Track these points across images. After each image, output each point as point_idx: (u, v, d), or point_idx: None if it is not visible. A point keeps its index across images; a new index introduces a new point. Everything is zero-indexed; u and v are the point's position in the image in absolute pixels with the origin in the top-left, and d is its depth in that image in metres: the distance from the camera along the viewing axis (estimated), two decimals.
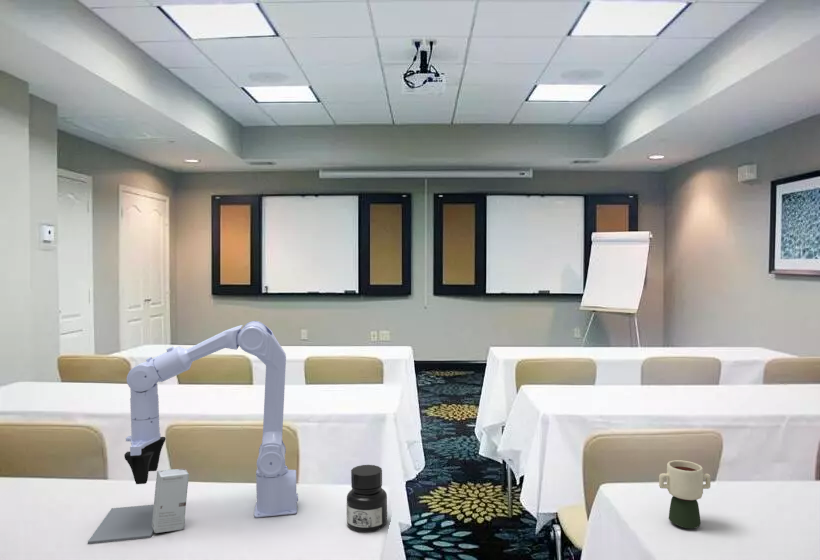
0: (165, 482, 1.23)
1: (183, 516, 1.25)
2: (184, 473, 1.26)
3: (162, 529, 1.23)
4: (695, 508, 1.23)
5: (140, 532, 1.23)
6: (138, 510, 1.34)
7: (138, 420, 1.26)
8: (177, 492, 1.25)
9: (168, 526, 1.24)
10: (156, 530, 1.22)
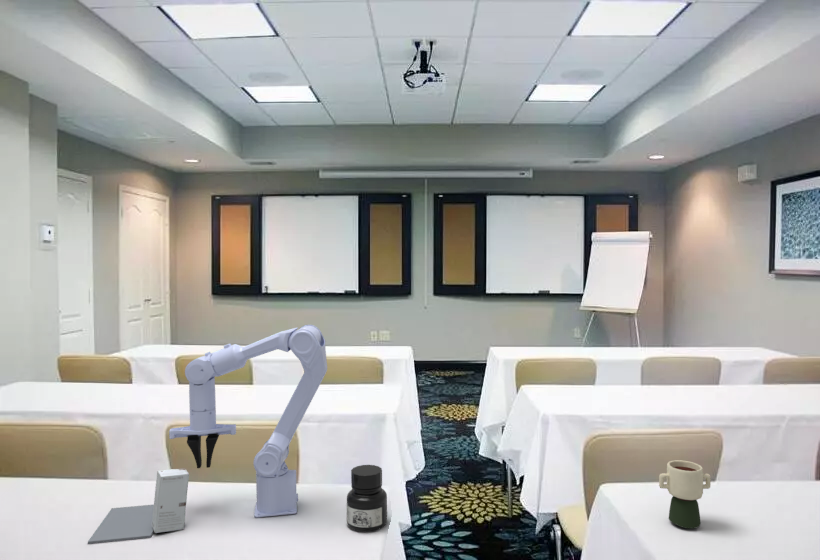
0: (165, 482, 1.23)
1: (183, 516, 1.25)
2: (184, 473, 1.26)
3: (162, 529, 1.23)
4: (695, 508, 1.23)
5: (140, 532, 1.23)
6: (138, 510, 1.34)
7: None
8: (177, 492, 1.25)
9: (168, 526, 1.24)
10: (156, 530, 1.22)
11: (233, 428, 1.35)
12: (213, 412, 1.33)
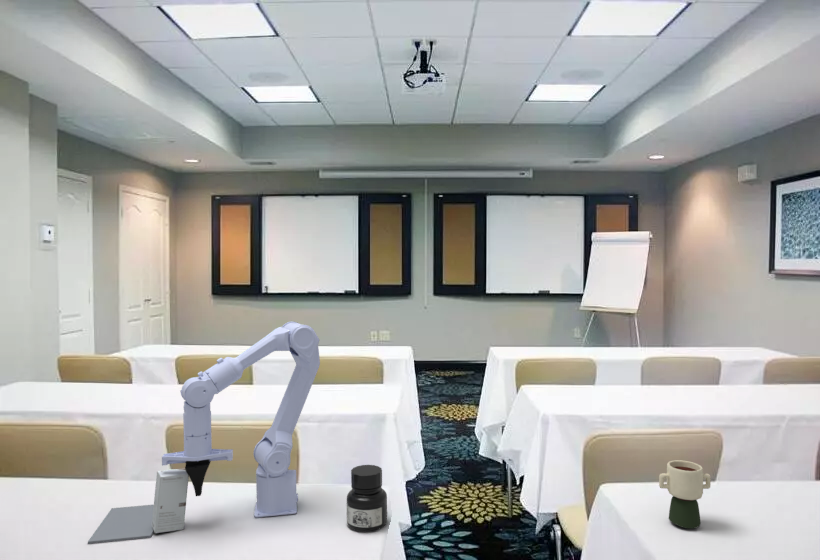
0: (165, 482, 1.23)
1: (183, 516, 1.25)
2: (184, 473, 1.26)
3: (162, 529, 1.23)
4: (695, 508, 1.23)
5: (140, 532, 1.23)
6: (138, 510, 1.34)
7: None
8: (177, 492, 1.25)
9: (168, 526, 1.24)
10: (156, 530, 1.22)
11: (230, 454, 1.27)
12: (209, 437, 1.26)
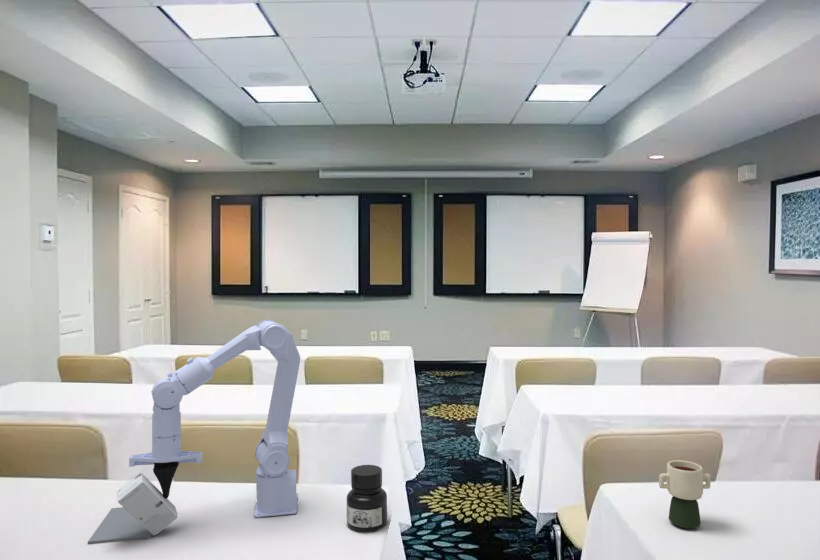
0: (126, 501, 1.18)
1: (168, 510, 1.22)
2: (138, 483, 1.19)
3: (158, 530, 1.22)
4: (695, 508, 1.23)
5: (140, 532, 1.23)
6: None
7: None
8: (145, 500, 1.20)
9: (161, 525, 1.22)
10: (153, 534, 1.22)
11: (199, 456, 1.25)
12: (177, 438, 1.24)
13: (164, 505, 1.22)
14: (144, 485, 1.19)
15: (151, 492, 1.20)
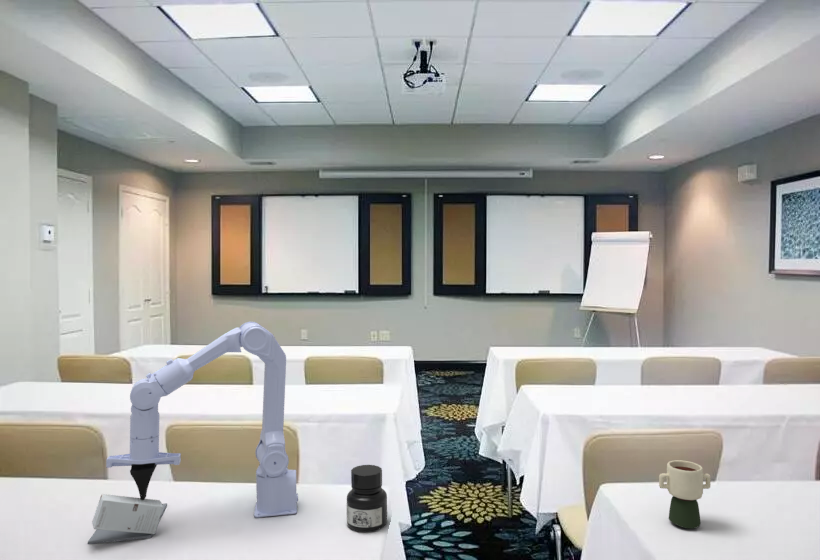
0: (102, 524, 1.17)
1: (149, 506, 1.21)
2: (101, 503, 1.17)
3: (153, 527, 1.22)
4: (695, 508, 1.23)
5: None
6: None
7: None
8: (120, 512, 1.19)
9: (153, 521, 1.22)
10: (152, 532, 1.22)
11: (177, 458, 1.25)
12: (155, 440, 1.23)
13: (141, 505, 1.21)
14: (107, 501, 1.17)
15: (119, 503, 1.19)
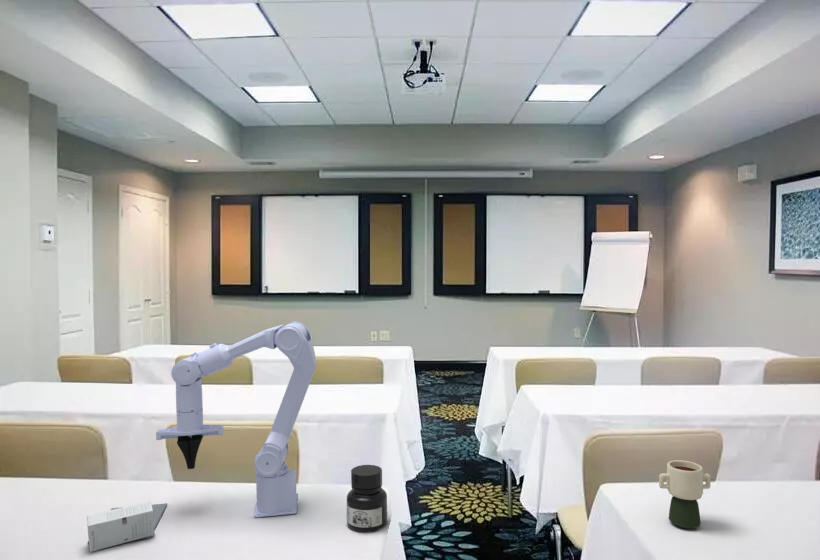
0: (97, 544, 1.16)
1: (138, 515, 1.19)
2: (88, 528, 1.15)
3: (151, 530, 1.21)
4: (695, 508, 1.23)
5: None
6: None
7: None
8: (110, 530, 1.17)
9: (148, 526, 1.21)
10: (151, 534, 1.22)
11: (220, 429, 1.34)
12: (200, 413, 1.33)
13: (129, 517, 1.19)
14: (93, 525, 1.15)
15: (106, 522, 1.16)
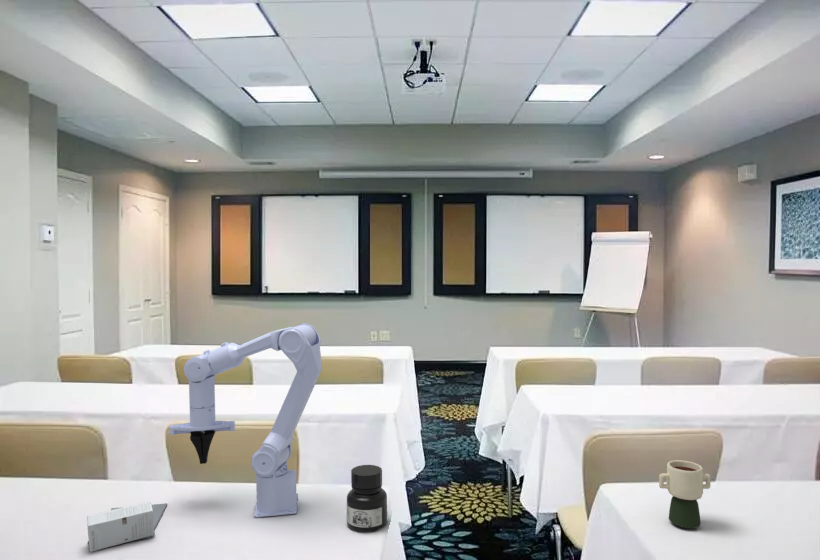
0: (97, 544, 1.16)
1: (138, 515, 1.19)
2: (88, 528, 1.15)
3: (151, 530, 1.21)
4: (695, 508, 1.23)
5: None
6: None
7: None
8: (110, 530, 1.17)
9: (148, 526, 1.21)
10: (151, 534, 1.22)
11: (232, 425, 1.37)
12: (212, 409, 1.36)
13: (129, 517, 1.19)
14: (93, 525, 1.15)
15: (106, 522, 1.16)
